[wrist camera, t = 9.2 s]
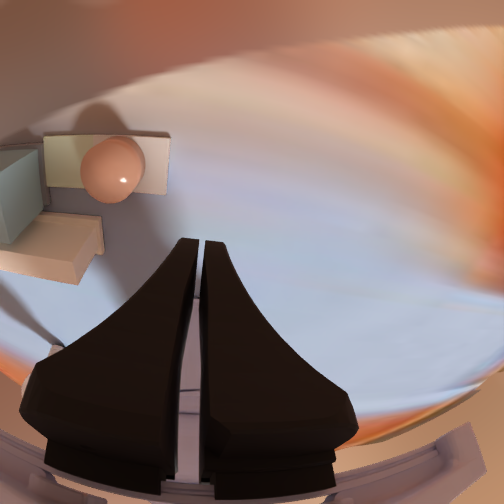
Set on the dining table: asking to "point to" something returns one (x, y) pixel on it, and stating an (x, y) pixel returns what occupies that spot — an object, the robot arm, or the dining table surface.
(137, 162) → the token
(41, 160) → the pad
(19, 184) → the blue-grey cube
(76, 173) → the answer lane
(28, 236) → the tan rectangular block
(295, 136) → the dining table surface
